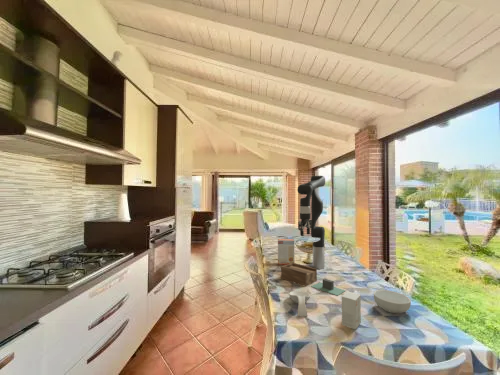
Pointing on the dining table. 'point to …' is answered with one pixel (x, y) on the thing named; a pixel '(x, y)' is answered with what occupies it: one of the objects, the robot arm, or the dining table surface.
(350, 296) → the small box
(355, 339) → the dining table surface
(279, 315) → the dining table surface
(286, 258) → the cracker box
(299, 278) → the lid box
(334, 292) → the cover plate
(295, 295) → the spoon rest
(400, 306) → the cereal bowl
